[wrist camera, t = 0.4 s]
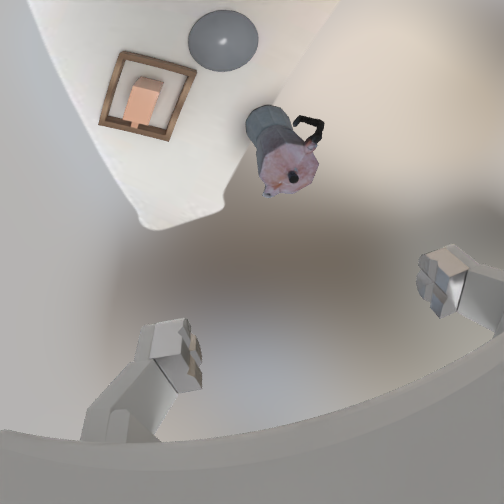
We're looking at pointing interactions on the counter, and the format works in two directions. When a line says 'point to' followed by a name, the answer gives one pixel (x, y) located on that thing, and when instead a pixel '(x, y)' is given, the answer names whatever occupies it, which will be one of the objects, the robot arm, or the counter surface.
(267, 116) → the moka pot
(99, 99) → the counter surface
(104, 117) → the frame
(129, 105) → the terracotta clay block
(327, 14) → the counter surface
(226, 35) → the slate coaster
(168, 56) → the counter surface
